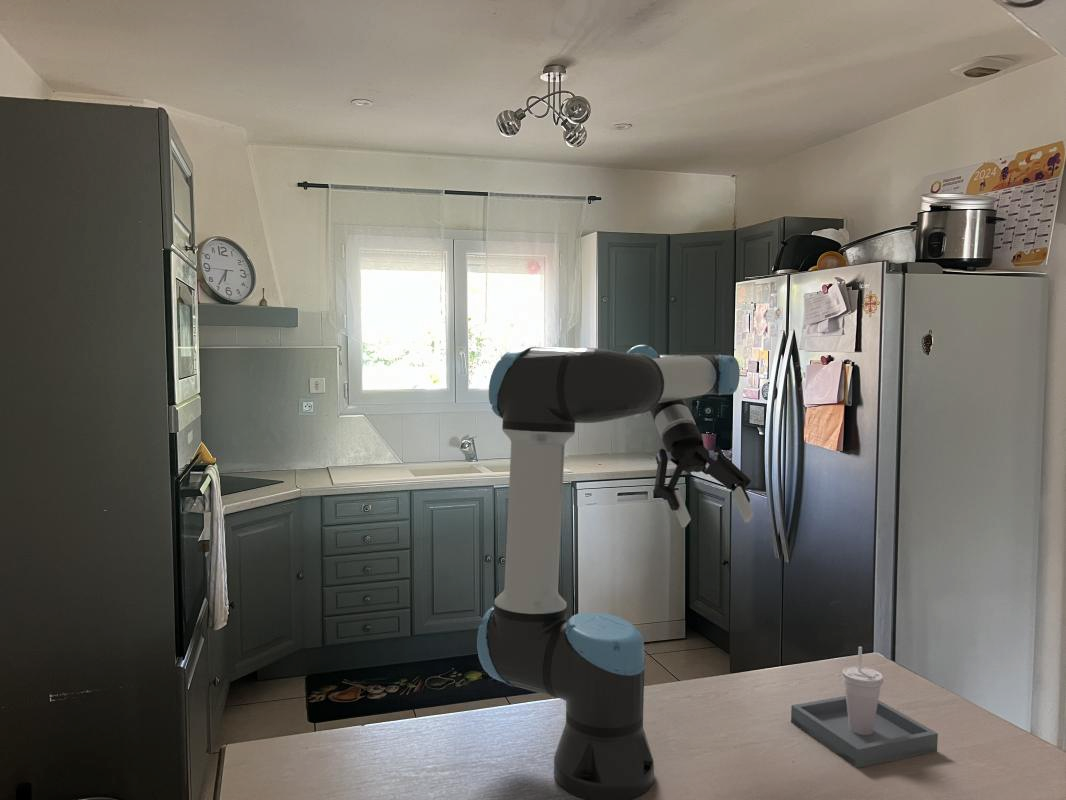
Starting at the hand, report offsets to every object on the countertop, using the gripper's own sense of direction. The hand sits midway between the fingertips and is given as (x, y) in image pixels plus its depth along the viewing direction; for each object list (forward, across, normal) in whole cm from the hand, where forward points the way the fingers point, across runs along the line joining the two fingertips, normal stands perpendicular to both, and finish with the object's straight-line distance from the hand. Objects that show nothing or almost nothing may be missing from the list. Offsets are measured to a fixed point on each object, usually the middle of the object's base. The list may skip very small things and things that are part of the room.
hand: (718, 521), depth 147 cm
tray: (+39, -14, -7) cm, 42 cm away
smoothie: (+38, -14, -7) cm, 41 cm away
